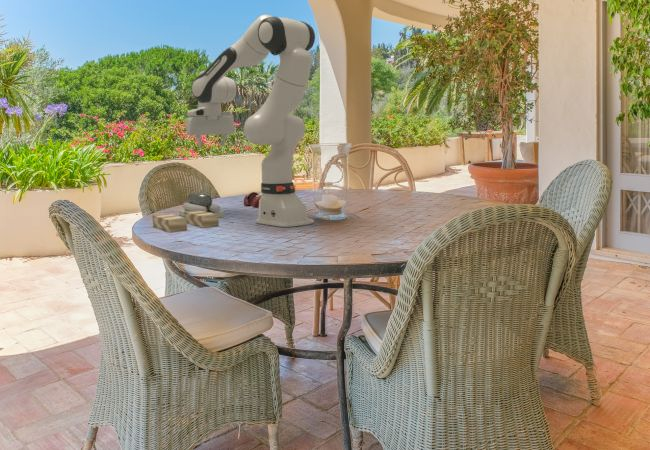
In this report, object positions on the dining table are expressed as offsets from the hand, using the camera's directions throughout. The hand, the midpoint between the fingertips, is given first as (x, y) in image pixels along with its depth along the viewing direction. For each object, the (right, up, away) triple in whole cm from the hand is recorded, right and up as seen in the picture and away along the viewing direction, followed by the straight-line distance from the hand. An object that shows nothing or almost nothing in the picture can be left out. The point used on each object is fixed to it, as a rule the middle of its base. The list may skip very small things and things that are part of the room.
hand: (211, 146), depth 230 cm
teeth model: (+16, -24, +21) cm, 36 cm away
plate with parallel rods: (-3, -29, -5) cm, 29 cm away
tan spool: (-4, -32, -27) cm, 42 cm away
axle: (-4, -25, -5) cm, 25 cm away
